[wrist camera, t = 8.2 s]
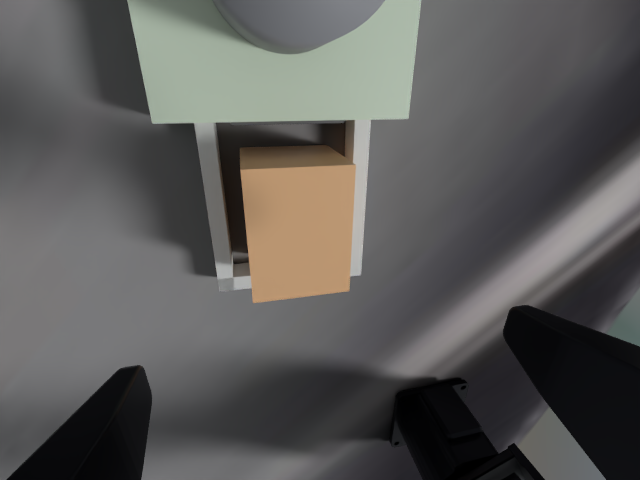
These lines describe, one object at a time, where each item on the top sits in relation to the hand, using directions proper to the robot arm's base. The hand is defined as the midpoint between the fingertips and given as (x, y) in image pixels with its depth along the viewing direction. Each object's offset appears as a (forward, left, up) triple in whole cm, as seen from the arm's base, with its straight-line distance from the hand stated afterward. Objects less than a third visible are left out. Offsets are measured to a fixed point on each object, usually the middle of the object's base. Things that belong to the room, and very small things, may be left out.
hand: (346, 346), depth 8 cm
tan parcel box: (0, 0, -12) cm, 12 cm away
